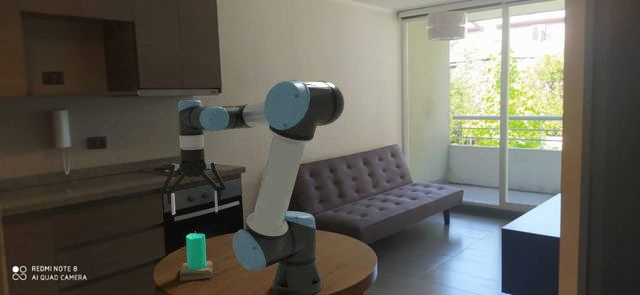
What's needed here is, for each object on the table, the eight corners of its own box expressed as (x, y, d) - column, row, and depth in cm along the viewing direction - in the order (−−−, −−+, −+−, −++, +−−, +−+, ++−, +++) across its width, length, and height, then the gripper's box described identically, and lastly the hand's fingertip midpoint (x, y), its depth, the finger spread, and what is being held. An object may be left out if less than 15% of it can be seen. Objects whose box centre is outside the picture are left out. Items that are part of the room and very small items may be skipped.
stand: (211, 277, 148) (211, 270, 148) (179, 280, 147) (179, 273, 146) (212, 266, 158) (212, 259, 158) (182, 269, 156) (182, 262, 156)
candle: (184, 266, 152) (182, 231, 151) (199, 261, 156) (197, 227, 155) (194, 271, 148) (192, 234, 147) (209, 265, 152) (208, 230, 151)
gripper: (231, 145, 154) (233, 207, 156) (153, 148, 149) (157, 212, 151) (231, 147, 147) (234, 212, 149) (149, 151, 142) (153, 218, 144)
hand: (195, 212), depth 150 cm, fingers open, 13 cm apart
